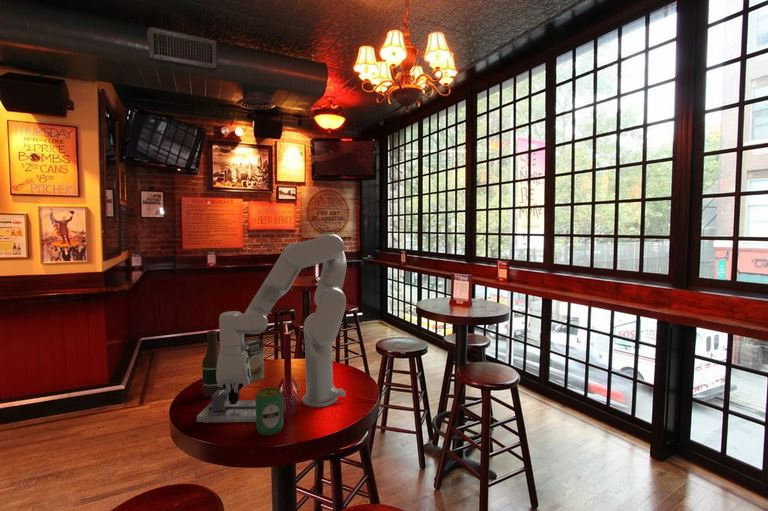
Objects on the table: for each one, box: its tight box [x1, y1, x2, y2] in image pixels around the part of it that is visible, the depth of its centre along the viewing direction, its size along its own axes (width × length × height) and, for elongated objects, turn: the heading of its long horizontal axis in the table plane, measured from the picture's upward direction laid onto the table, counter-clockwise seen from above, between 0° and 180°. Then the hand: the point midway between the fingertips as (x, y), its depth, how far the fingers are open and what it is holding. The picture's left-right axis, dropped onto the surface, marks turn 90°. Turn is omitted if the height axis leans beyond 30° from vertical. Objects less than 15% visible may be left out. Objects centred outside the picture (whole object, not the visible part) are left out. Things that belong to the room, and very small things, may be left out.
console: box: [196, 399, 256, 423], centre depth 137 cm, size 24×12×4 cm, turn 90°
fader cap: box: [211, 389, 230, 410], centre depth 137 cm, size 4×5×5 cm
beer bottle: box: [201, 329, 226, 399], centre depth 153 cm, size 8×8×24 cm
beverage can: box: [254, 386, 284, 436], centre depth 125 cm, size 8×8×12 cm
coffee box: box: [244, 338, 265, 384], centre depth 167 cm, size 9×6×16 cm
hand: (234, 402), depth 137 cm, fingers closed
